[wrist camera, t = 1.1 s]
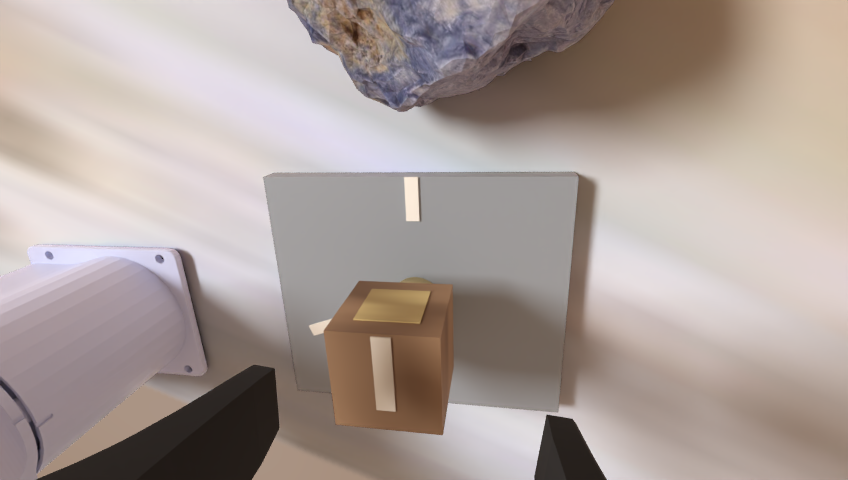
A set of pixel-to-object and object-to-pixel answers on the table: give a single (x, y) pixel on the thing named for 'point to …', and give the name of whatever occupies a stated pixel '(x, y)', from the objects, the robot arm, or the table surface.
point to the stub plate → (435, 267)
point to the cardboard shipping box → (392, 356)
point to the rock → (440, 41)
